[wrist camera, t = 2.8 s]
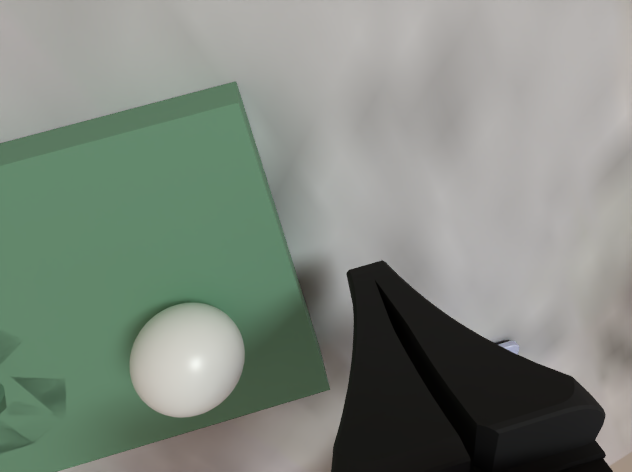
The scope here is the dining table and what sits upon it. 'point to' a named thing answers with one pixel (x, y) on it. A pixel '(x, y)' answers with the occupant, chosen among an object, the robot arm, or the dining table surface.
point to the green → (137, 275)
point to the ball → (187, 359)
